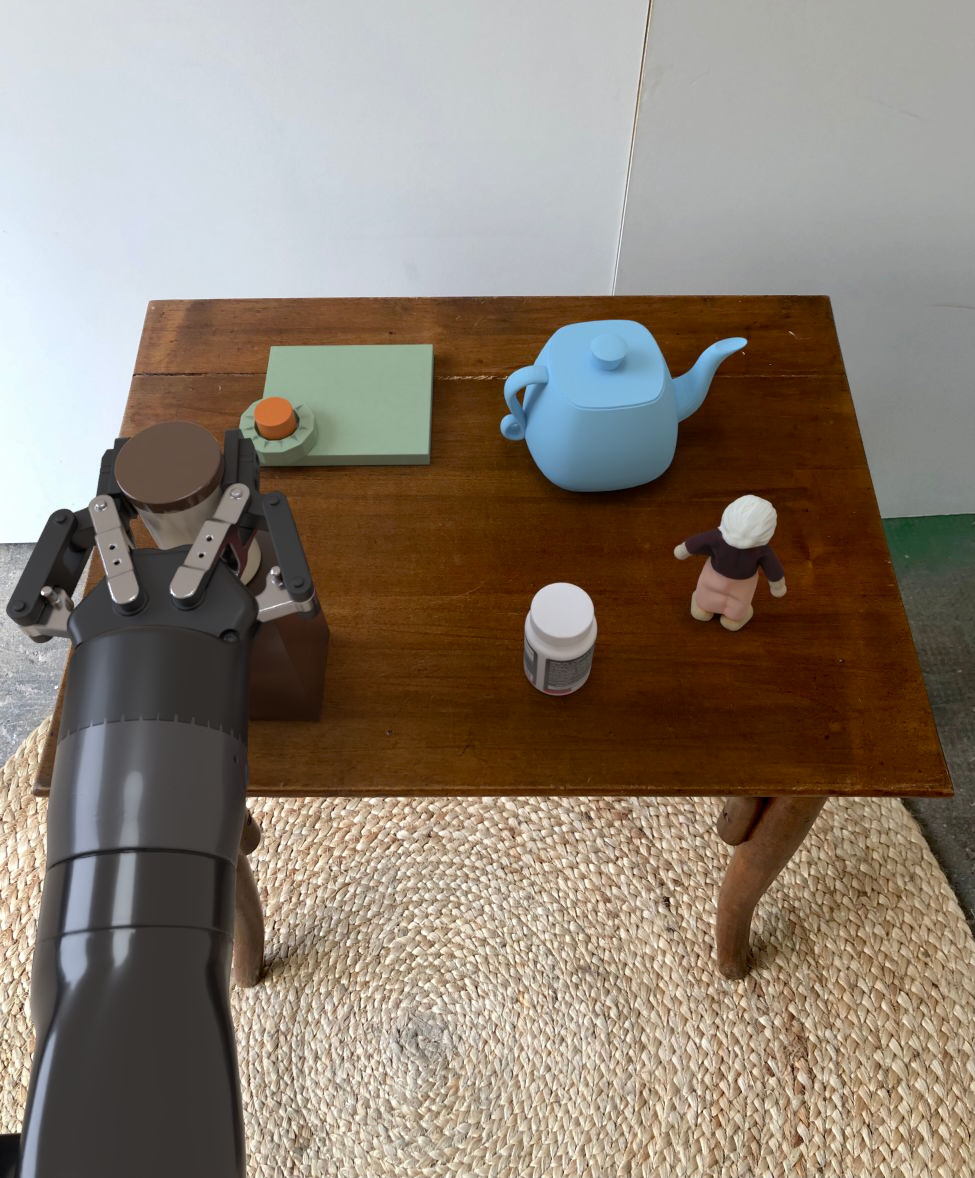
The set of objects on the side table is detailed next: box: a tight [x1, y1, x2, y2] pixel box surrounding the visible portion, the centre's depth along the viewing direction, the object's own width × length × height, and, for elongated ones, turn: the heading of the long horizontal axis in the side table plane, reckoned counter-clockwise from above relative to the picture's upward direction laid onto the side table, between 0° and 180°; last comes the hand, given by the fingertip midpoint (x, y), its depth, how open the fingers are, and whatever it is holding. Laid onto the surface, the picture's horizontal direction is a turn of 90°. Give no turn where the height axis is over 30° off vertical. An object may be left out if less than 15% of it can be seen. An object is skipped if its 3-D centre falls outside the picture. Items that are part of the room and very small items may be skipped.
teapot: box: [499, 319, 748, 493], centre depth 69 cm, size 13×11×18 cm
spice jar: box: [114, 420, 261, 585], centre depth 47 cm, size 5×5×9 cm
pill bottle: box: [523, 582, 598, 696], centre depth 60 cm, size 5×5×8 cm
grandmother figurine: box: [673, 494, 787, 632], centre depth 61 cm, size 8×4×13 cm, turn 77°
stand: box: [245, 530, 331, 722], centre depth 57 cm, size 7×7×15 cm
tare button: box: [254, 397, 296, 440], centre depth 71 cm, size 3×3×2 cm
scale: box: [238, 343, 435, 467], centre depth 75 cm, size 15×13×3 cm
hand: (183, 444), depth 46 cm, fingers closed on spice jar, 5 cm apart
